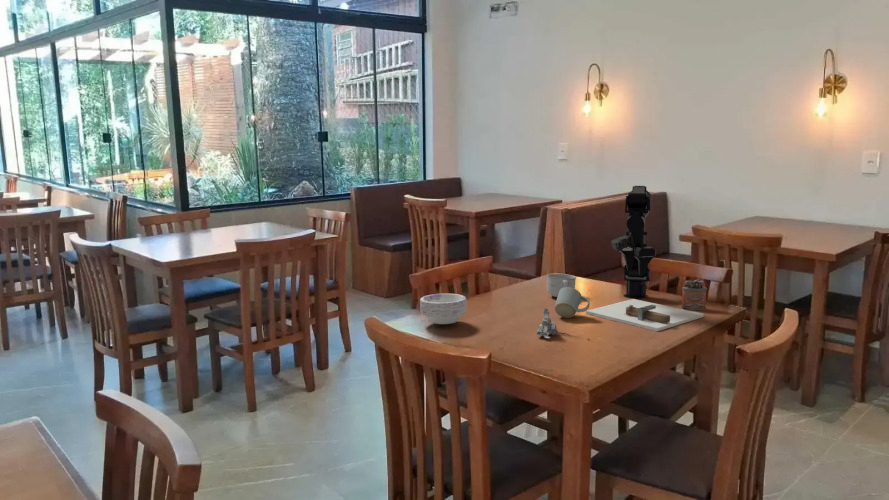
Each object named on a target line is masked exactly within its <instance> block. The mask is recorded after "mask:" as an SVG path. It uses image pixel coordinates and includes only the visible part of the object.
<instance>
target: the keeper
mask: <svg viewBox="0 0 889 500" xmlns="http://www.w3.org/2000/svg"><path fill="white" fill-rule="evenodd" d="M655 308H656V305H649V306H645V307H642V308H638V320H641V321H643V320H645V311H648V310H652V309H655Z"/></svg>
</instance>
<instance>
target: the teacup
mask: <svg viewBox="0 0 889 500" xmlns="http://www.w3.org/2000/svg"><path fill="white" fill-rule="evenodd" d="M576 279H577V277H576V276H575V275H572V274H566V273H549V274H547V275H546V290H547V292H548V293H549V294H550V296H552V297H555V298H557V297H558V294H559V291H560V289H562V288H564V287H571V288H574V289H576Z"/></svg>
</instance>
